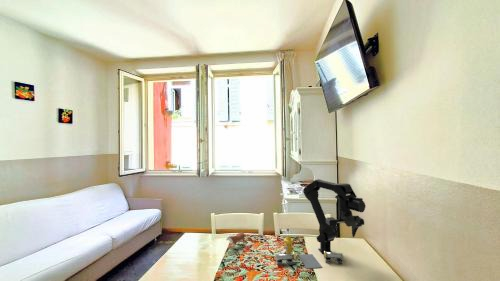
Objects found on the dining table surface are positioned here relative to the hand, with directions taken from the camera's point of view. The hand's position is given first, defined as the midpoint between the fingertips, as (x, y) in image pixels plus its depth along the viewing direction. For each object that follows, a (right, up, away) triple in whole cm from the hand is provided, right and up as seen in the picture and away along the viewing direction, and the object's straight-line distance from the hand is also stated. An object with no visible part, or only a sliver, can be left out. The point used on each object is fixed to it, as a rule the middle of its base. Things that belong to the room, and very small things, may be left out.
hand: (344, 237), depth 125 cm
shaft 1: (-32, -13, -1) cm, 34 cm away
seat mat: (-19, -13, 0) cm, 23 cm away
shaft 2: (-6, -13, 0) cm, 14 cm away
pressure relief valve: (-31, -13, +7) cm, 34 cm away
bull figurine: (-59, -14, +19) cm, 63 cm away
